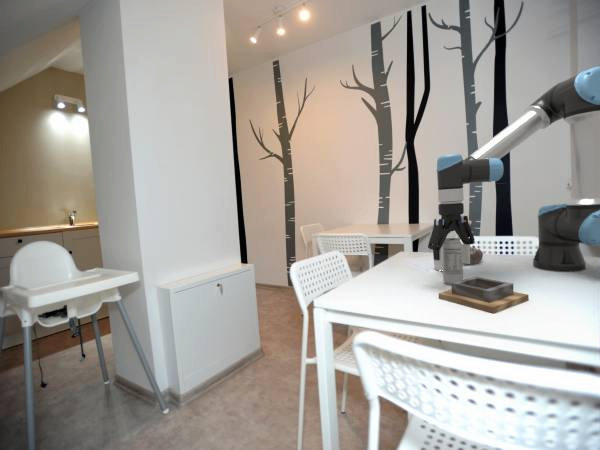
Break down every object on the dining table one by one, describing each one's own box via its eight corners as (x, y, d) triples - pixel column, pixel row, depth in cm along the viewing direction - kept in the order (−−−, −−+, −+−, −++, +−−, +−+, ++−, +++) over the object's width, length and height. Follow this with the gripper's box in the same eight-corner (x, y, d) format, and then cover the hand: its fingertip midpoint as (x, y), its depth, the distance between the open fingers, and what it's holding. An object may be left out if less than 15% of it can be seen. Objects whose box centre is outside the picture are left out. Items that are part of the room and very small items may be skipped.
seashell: (464, 252, 146) (472, 234, 139) (482, 265, 139) (492, 247, 133) (443, 262, 139) (451, 245, 133) (462, 277, 133) (471, 259, 127)
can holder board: (473, 287, 102) (472, 273, 102) (528, 300, 88) (528, 283, 88) (438, 298, 95) (438, 283, 94) (493, 313, 81) (492, 295, 80)
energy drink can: (464, 281, 109) (463, 237, 108) (462, 286, 104) (460, 240, 103) (445, 280, 112) (443, 237, 111) (442, 285, 107) (440, 240, 106)
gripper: (464, 200, 115) (466, 259, 117) (414, 205, 104) (417, 270, 105) (485, 199, 109) (486, 262, 110) (434, 205, 97) (436, 274, 99)
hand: (452, 266), depth 108 cm, fingers open, 13 cm apart
